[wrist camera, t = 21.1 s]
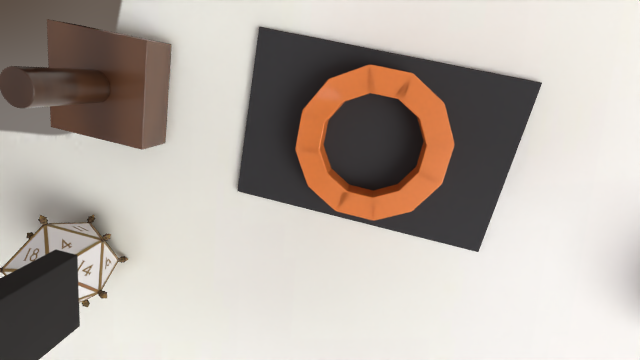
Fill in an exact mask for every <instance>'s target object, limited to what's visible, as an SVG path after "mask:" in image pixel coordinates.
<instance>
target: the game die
mask: <svg viewBox="0 0 640 360" xmlns="http://www.w3.org/2000/svg"><path fill="white" fill-rule="evenodd" d="M46 218H47V217H44V216H42V215H40V217H39V219H38V220H39V221H40V223H41V224H42V226H41V227H40V228H39V230H38V231H37V232H36V233H35V234H33V233H32V232H31V233H27V238H29V240H28V241H27V242H26V243H25V244H24V245H23V246H22V247H21V248H20V250H19V251H18V252H17V253H16V254H15V255H14V256H13V257H12V258H11V259H10V260H9V261H8V262H7V263H6V264H5V265H4V266H3V267H2V268H0V272H2V273H3V274H4V275H5V276H6V275H8V274H10V273H12V272H14V271H15V270H17V269H19V268H21V267H23V266H25V265H27V264H29V263H31V262H33V261H34V260H36V259H38V258H40V257H42V256H44V255H46V254H48V253H50V252H52V251H54V250H55V249H56V250H60V251H64V252H68V253H72V254H76V255H77V256H78V289H79V302H82V304H83V306H85V307H88V306H89V304H90V303H89V301H88V300H87V299H89V298H91V297H93V296H95V295H96V294H99V296H100V297H101V298H107V292H105V291H102V289H103V287H104V285H105V283H106V282H107V280H108V278H109V276H110V275H111V273H112V271H113V269H114V268H115V266H116V264H117V262H121V263H122V262H125V261H126V260H128V258H126V257H125V256H124V257H120V258H118V257H117V256H116V254H115V253H114V252H113V251H112V249H111V248H110V247H109V245H108V244H107V243H106V241H108V239H110V236H111V234H105V235H103V237H102V236H101V235H100V234H99V233H98V231H97V230H96V229H95V228H94V226H93V225H92V224H91V223H92V222H93V221H94V219H95V218H94V215H92V216H90V217H89V218H88V219H87V220H88V222H81V223H50V224H48V223H47V221H48V220H47V219H46Z"/></svg>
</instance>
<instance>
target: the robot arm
mask: <svg viewBox="0 0 640 360" xmlns="http://www.w3.org/2000/svg"><path fill="white" fill-rule="evenodd" d="M79 326H80V321H79V289H78V256H77V255H76V254H72V253H68V252H64V251H60V250H56V249H55V250H54V251H52V252H50V253H48V254H46V255H44V256H42V257H40V258H38V259H36V260H34V261H33V262H31V263H29V264H27V265H25V266H23V267H21V268H19V269H17V270H15V271H14V272H12V273H10V274H8V275H6V276H4V277H2V278H0V360H39V359H40V358H41V357H43V356H44V355H45V354H46V353H47V352H49V351H50V350H51V349H52V348H54V347H55V346H56V345H57V344H58V343H60V342H61V341H62V340H63V339H64V338H66V337H67V336H68V335H69V334H70V333H72V332H73V331H74V330H75V329H77V328H78V327H79Z"/></svg>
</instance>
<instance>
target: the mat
mask: <svg viewBox="0 0 640 360" xmlns="http://www.w3.org/2000/svg"><path fill="white" fill-rule="evenodd" d="M370 64H371V65H376V66H381V67H385V68H390V69H395V70H400V71H405V72H410V73H413V74H414V75H415V76H416V77H418V78H419V79H420V80H421V81H422V82H423V83H424V84H425V85H426V86H427V87H428V88H429V89H430V90H431V91H432V92H433V93H434V94H435V95H436V96H438V97H439V98H440V99H441V100H442V101H443V102H444V104H445V107H446V111H447V115H448V120H449V124H450V128H451V132H452V136H453V140H454V148H453V151H452V155H451V158H450V161H449V164H448V167H447V170H446V173H445V176H444V179H443V183H442V184H441V185H440V186H439V187H438V188H437V189H436V190H435V191H434V192H433V193H432V194H431V195H429V196H428V197H427V198H426V199H425V200H424V201H423V202H422V203H421V204H419V205H418V206H417V207H416V208H415V209H414V210H413V211H411V212H408V213H403V214H399V215H395V216H391V217H387V218H383V219H379V220H375V221H374V220H369V219H365V218H361V217H357V216H353V215H349V214H345V213H341V212H337V211H335V210H334V209H333V208H332V207H331V206H329V205H328V204H327V203H326V202H325V201H324V200H323V199H322V198H321V197H319V196H318V195H317V194H316V193H315V192H314V191H313V190H312V189H311V188H310V187H308V185H307V182H306V179H305V176H304V174H303V171H302V168H301V165H300V162H299V159H298V156H297V153H296V149H295V147H296V142H297V136H298V131H299V125H300V120H301V114H302V110H303V109H304V108H305V106H306V105H307V104H308V103H309V102H310V101H311V99H312V98H313V97H314V96H315V95H316V93H317V92H318V91H319V90H320V89H321V87H322V86H323V85H324V84H325V83H326V82H327V80H328V79H330V78H332V77H335V76H338V75H341V74H344V73H347V72H349V71H352V70H355V69H358V68H361V67H363V66H366V65H370ZM541 84H542V83H540V82H535V81H530V80H525V79H520V78H515V77H510V76H505V75H500V74H495V73H490V72H485V71H480V70H475V69H470V68H465V67H460V66H455V65H450V64H445V63H440V62H435V61H430V60H425V59H419V58H414V57H409V56H404V55H399V54H394V53H389V52H384V51H379V50H374V49H369V48H364V47H359V46H354V45H349V44H344V43H339V42H334V41H329V40H324V39H319V38H314V37H309V36H304V35H299V34H294V33H289V32H284V31H278V30H273V29H268V28H263V27H259V34H258V41H257V49H256V56H255V64H254V71H253V79H252V86H251V94H250V101H249V109H248V116H247V124H246V131H245V139H244V146H243V154H242V161H241V168H240V176H239V183H238V191H239V192H243V193H247V194H251V195H255V196H259V197H263V198H267V199H271V200H275V201H279V202H283V203H287V204H291V205H294V206H298V207H302V208H306V209H310V210H314V211H318V212H322V213H326V214H330V215H334V216H338V217H342V218H346V219H350V220H354V221H358V222H362V223H366V224H370V225H374V226H378V227H381V228H385V229H389V230H393V231H397V232H401V233H405V234H409V235H413V236H417V237H421V238H425V239H429V240H433V241H437V242H441V243H445V244H449V245H453V246H457V247H461V248H464V249H468V250H472V251H476V252H478V251H479V248H480V246H481V243H482V240H483V238H484V235H485V232H486V230H487V227H488V225H489V222H490V219H491V217H492V214H493V211H494V209H495V206H496V203H497V201H498V198H499V195H500V193H501V190H502V188H503V185H504V182H505V180H506V177H507V174H508V172H509V169H510V166H511V164H512V161H513V158H514V156H515V153H516V150H517V148H518V145H519V143H520V140H521V137H522V135H523V132H524V129H525V127H526V124H527V121H528V119H529V116H530V113H531V111H532V108H533V105H534V103H535V100H536V98H537V95H538V92H539V90H540V87H541ZM423 142H424V141H423V137H422V134H421V130H420V126H419V122H418V119H417V116H416V115H415V114H414V113H413V112H412V111H411V110H410V109H409V108H407V107H406V106H405V105H404V104H403V103H402V102H401V101H400V100H399V99H396V98H391V97H387V96H382V95H377V94H372V93H369V94H366V95H363V96H360V97H357V98H354V99H351V100H348V101H345V102H344V103H343V105H342V106H341V107H340V108H339V109H338V110H337V111H336V112H335V114H334V115H333V116H332V117H331V118H330V119H329V120H328V125H327V130H326V135H325V140H324V148H325V151H326V154H327V157H328V160H329V163H330V166H331V168H332V169H333V170H334V171H335V172H336V173H337V174H338V175H339V176H340V177H341V178H343V179H344V180H345V181H346V182H347V183H348V184H349V185H352V186H357V187H361V188H365V189H369V190H377V189H381V188H385V187H388V186H392V185H396V184H398V183H399V182H400V181H401V180H403V179H404V178H405V177H406V176H407V175H408V174H409V173H410V172H411V171H412V170H413V169H414V168H415V167H416V166H417V162H418V159H419V155H420V152H421V149H422V145H423Z"/></svg>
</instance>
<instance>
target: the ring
mask: <svg viewBox="0 0 640 360" xmlns="http://www.w3.org/2000/svg"><path fill="white" fill-rule="evenodd" d="M369 93H372V94H377V95H382V96H387V97H391V98H396V99H399V100H400V101H401V102H402V103H403V104H404V105H405V106H406V107H407V108H409V109H410V110H411V111H412V112H413V113H414V114H415V115H416V116H417V119H418V122H419V126H420V130H421V134H422V137H423V141H424V142H423V145H422V149H421V152H420V155H419V159H418V162H417V166H416V167H415V168H414V169H413V170H412V171H411V172H410V173H409V174H408V175H407V176H406V177H405V178H404V179H403V180H401V181H400V182H399V183H398V184H396V185H392V186H388V187H385V188H381V189H377V190H369V189H365V188H361V187H357V186H352V185H349V184H348V183H347V182H346V181H345V180H344V179H343V178H341V177H340V176H339V175H338V174H337V173H336V172H335V171H334V170H333V169H332V168H331V166H330V163H329V160H328V157H327V154H326V151H325V148H324V140H325V135H326V130H327V125H328V120H329V119H330V118H331V117H332V116H333V115H334V114H335V112H336V111H337V110H338V109H339V108H340V107H341V106H342V105H343V103H344V102H345V101H348V100H351V99H354V98H357V97H360V96H363V95H366V94H369ZM453 148H454V140H453V136H452V132H451V128H450V124H449V120H448V115H447V111H446V107H445V104H444V102H443V101H442V100H441V99H440V98H439V97H438V96H436V95H435V94H434V93H433V92H432V91H431V90H430V89H429V88H428V87H427V86H426V85H425V84H424V83H423V82H422V81H421V80H420V79H419V78H418V77H416V76H415V75H414V74H413V73H410V72H405V71H400V70H395V69H390V68H385V67H381V66H376V65H371V64H370V65H366V66H363V67H361V68H358V69H355V70H352V71H349V72H347V73H344V74H341V75H338V76H335V77H332V78H330V79H328V80H327V82H326V83H325V84H324V85H323V86H322V87H321V89H320V90H319V91H318V92H317V93H316V95H315V96H314V97H313V98H312V99H311V101H310V102H309V103H308V104H307V105H306V106H305V108H304V109H303V110H302V114H301V120H300V125H299V131H298V136H297V142H296V147H295V149H296V153H297V156H298V159H299V162H300V165H301V168H302V171H303V174H304V176H305V179H306V182H307V185H308V187H310V188H311V189H312V190H313V191H314V192H315V193H316V194H317V195H318V196H319V197H321V198H322V199H323V200H324V201H325V202H326V203H327V204H328V205H329V206H331V207H332V208H333V209H334V210H335V211H337V212H341V213H345V214H349V215H353V216H357V217H361V218H365V219H369V220H374V221H375V220H379V219H383V218H387V217H391V216H395V215H399V214H403V213H408V212H411V211H413V210H414V209H415V208H416V207H417V206H418V205H419V204H421V203H422V202H423V201H424V200H425V199H426V198H427V197H428V196H429V195H431V194H432V193H433V192H434V191H435V190H436V189H437V188H438V187H439V186H440V185H441V184H442V183H443V179H444V176H445V173H446V170H447V167H448V164H449V161H450V158H451V155H452V151H453Z"/></svg>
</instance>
